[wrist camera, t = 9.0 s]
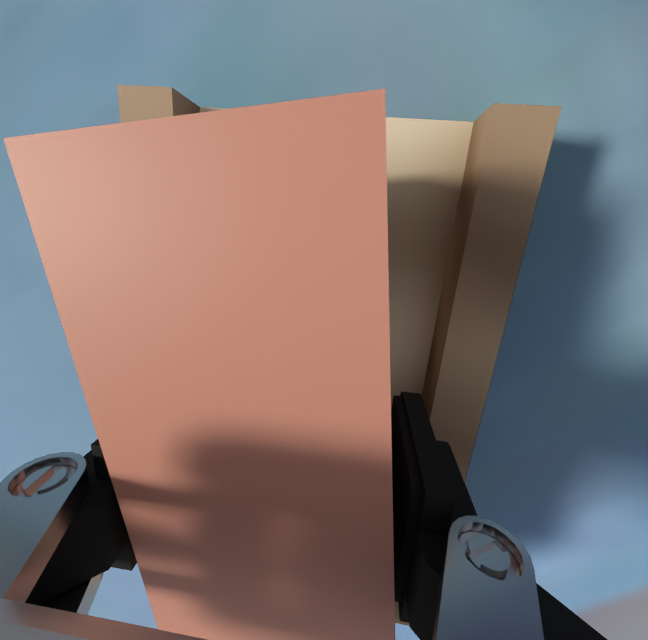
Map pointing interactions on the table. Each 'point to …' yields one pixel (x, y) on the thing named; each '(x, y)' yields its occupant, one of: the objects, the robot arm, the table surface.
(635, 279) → the table surface
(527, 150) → the cradle
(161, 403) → the salmon rectangular block
